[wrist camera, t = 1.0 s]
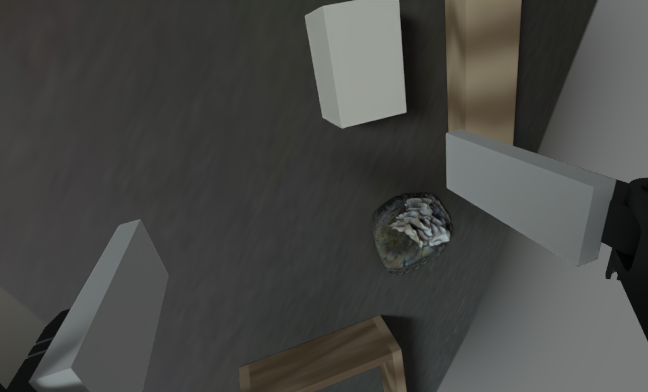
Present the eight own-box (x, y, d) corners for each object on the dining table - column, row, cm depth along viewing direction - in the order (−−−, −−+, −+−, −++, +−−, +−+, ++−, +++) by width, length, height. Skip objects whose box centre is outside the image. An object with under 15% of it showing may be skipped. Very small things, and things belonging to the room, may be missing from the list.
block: (304, 16, 29) (322, 6, 24) (367, 4, 30) (398, -7, 25) (322, 117, 33) (341, 128, 27) (377, 104, 34) (406, 112, 29)
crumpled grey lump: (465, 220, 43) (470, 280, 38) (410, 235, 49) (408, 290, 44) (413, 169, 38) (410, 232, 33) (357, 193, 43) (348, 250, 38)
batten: (442, -112, 28) (465, -130, 26) (501, -120, 29) (529, -138, 27) (449, 152, 38) (466, 159, 36) (493, 140, 39) (512, 145, 37)
